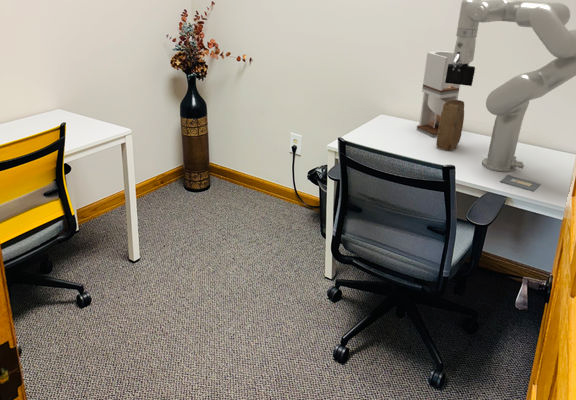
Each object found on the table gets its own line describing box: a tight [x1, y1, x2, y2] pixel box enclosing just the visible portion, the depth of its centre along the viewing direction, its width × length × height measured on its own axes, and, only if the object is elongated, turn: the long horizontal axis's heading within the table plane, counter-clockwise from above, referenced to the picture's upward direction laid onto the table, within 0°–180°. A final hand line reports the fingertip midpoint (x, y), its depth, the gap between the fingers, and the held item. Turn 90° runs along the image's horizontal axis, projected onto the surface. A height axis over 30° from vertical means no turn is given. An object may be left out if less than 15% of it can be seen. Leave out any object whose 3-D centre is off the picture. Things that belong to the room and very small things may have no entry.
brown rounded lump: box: [435, 99, 465, 151], centre depth 227 cm, size 11×8×20 cm
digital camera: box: [445, 64, 476, 87], centre depth 217 cm, size 10×5×7 cm, turn 74°
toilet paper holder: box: [416, 50, 461, 138], centre depth 240 cm, size 11×11×35 cm
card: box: [499, 174, 542, 192], centre depth 199 cm, size 12×8×1 cm, turn 51°
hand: (459, 79), depth 218 cm, fingers closed on digital camera, 6 cm apart
